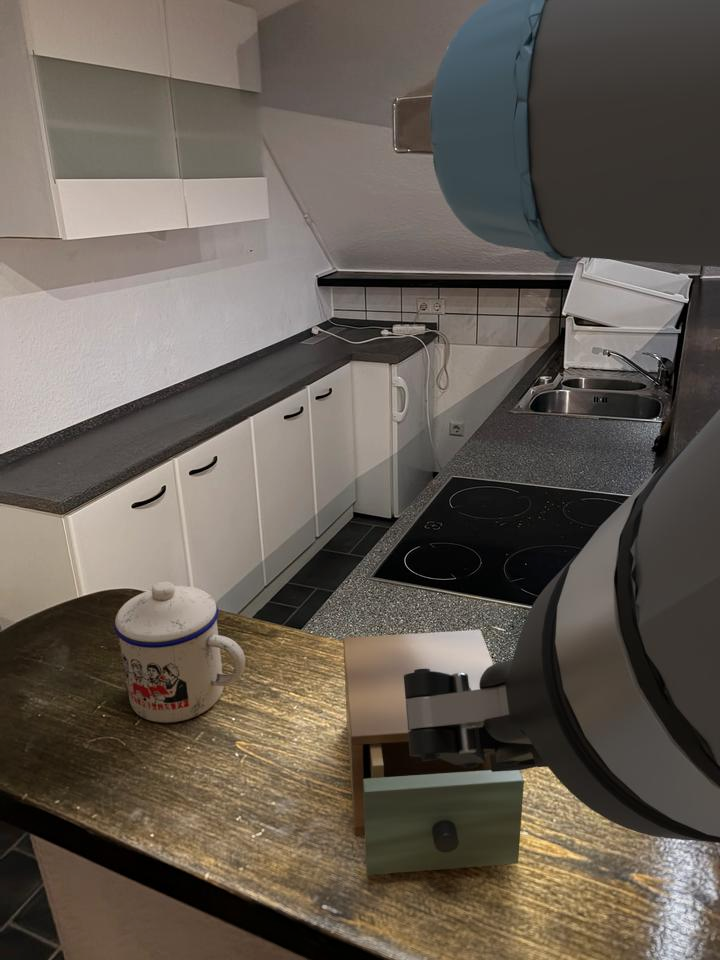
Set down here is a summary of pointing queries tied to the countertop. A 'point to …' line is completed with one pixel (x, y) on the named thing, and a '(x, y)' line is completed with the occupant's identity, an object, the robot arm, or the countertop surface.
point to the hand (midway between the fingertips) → (502, 742)
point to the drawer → (437, 812)
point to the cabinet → (396, 688)
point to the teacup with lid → (174, 652)
